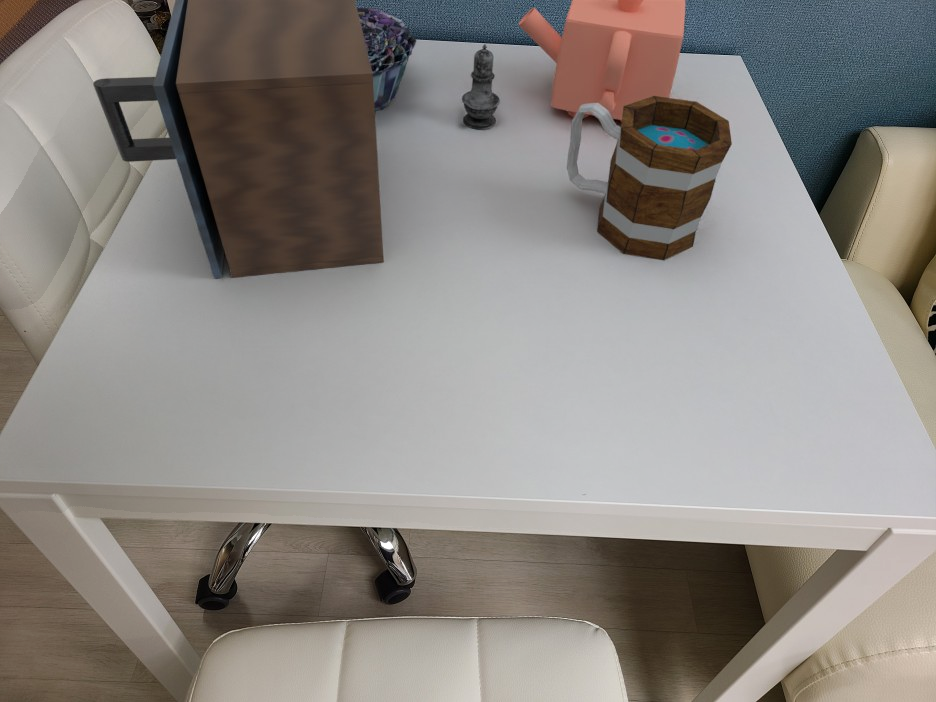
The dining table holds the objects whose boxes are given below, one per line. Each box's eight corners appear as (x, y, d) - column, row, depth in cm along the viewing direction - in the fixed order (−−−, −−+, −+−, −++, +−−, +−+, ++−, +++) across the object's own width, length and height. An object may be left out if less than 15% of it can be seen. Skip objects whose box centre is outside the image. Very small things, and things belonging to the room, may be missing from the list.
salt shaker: (453, 120, 105) (455, 43, 96) (478, 107, 108) (483, 31, 99) (480, 135, 103) (486, 57, 94) (505, 121, 106) (513, 45, 97)
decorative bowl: (419, 141, 104) (424, 79, 97) (233, 133, 99) (223, 68, 92) (406, 63, 121) (409, 5, 113) (246, 53, 116) (239, -8, 108)
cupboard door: (162, 282, 78) (84, 88, 60) (183, 157, 95) (128, -24, 77) (221, 277, 79) (163, 85, 61) (233, 154, 96) (189, -25, 78)
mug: (710, 220, 91) (750, 119, 80) (673, 274, 84) (711, 171, 72) (581, 170, 98) (602, 70, 87) (536, 216, 90) (552, 112, 79)
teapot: (498, 122, 106) (509, 3, 92) (524, 59, 120) (536, -52, 107) (658, 149, 103) (693, 30, 89) (664, 81, 117) (695, -30, 104)
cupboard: (231, 277, 79) (175, 83, 61) (235, 155, 96) (191, -26, 78) (383, 262, 82) (372, 73, 64) (361, 146, 99) (347, -30, 81)
